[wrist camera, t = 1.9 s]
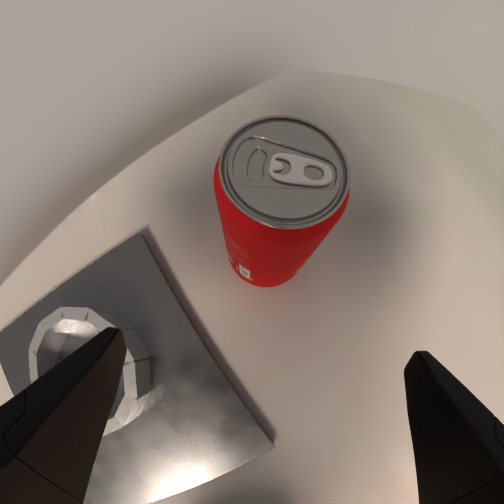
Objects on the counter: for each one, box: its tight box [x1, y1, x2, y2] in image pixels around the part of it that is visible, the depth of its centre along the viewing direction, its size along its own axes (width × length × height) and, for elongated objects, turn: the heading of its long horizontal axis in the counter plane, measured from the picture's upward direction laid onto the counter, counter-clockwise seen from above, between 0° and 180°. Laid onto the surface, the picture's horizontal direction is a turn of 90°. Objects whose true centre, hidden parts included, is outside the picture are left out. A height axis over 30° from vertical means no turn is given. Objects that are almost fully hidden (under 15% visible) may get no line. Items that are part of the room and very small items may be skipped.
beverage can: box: [214, 116, 350, 287], centre depth 16 cm, size 5×5×12 cm
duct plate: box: [0, 233, 275, 504], centre depth 17 cm, size 18×18×4 cm
